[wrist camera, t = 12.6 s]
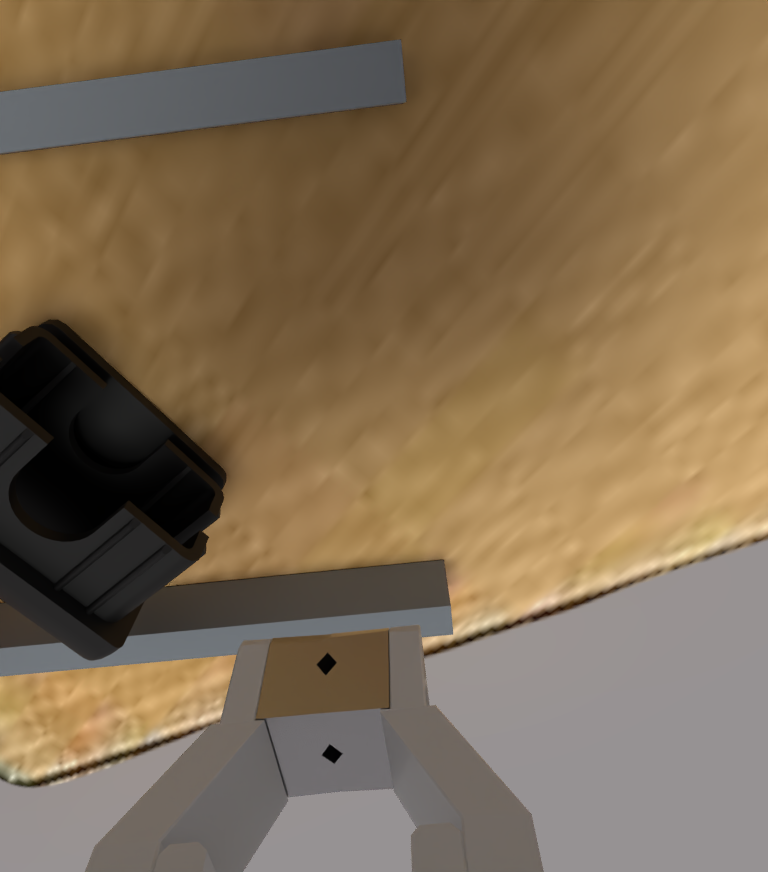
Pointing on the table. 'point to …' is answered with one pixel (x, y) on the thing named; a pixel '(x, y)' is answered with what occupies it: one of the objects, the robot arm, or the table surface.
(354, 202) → the table surface
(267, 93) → the u-shaped frame
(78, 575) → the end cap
